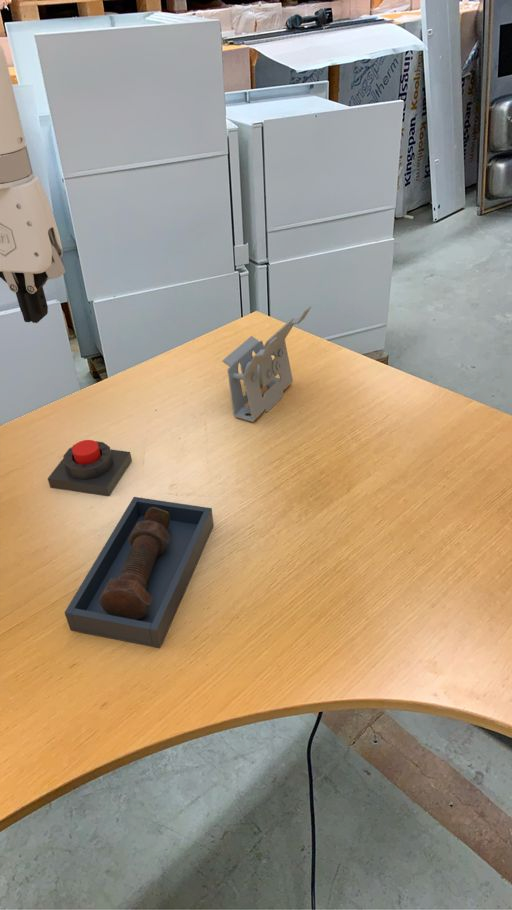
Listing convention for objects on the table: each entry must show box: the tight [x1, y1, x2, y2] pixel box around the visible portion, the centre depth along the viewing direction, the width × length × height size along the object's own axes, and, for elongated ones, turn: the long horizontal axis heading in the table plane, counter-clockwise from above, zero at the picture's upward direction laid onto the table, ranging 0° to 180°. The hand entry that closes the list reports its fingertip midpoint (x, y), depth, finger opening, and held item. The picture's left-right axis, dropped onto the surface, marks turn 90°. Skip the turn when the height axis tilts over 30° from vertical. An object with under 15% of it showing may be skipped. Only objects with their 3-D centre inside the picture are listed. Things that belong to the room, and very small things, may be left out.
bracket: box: [222, 305, 313, 423], centre depth 102 cm, size 13×10×15 cm
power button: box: [72, 439, 101, 465], centre depth 91 cm, size 4×4×2 cm
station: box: [47, 440, 133, 497], centre depth 92 cm, size 9×8×4 cm
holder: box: [64, 496, 214, 649], centre depth 77 cm, size 11×19×3 cm, turn 166°
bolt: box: [99, 507, 170, 620], centre depth 76 cm, size 6×5×15 cm
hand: (36, 317), depth 84 cm, fingers closed
